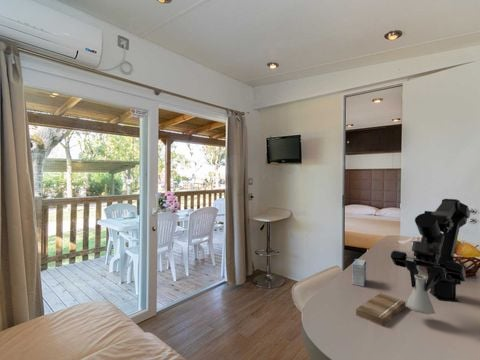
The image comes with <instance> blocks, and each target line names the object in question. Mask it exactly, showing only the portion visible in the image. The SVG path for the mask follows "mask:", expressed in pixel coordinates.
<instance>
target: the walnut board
mask: <svg viewBox="0 0 480 360" xmlns="http://www.w3.org/2000/svg"><path fill="white" fill-rule="evenodd" d="M405 308H406V300H403V299H400V298H397V297H395V296H392V295H388V294H385V293H382V292H378V294H376V295H375V296H374V297H372V298H370V299H369V300H367V301H366V302H364V303H362V304H361V305H359V306H358V307H357V308H355V315H356V316H358V317H360V318H362V319H364V320H366V321H367V320H368V321H370V322H372V323H375V324H377V325H379V326H381V327H384V325H386V324H387V323H388V322H389V321H390V320H392V319H393V318H394V317H395V316H396V315H398V314H399V313H400V312H401V311H403V310H404V309H405Z"/></svg>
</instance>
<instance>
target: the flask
mask: <svg viewBox="0 0 480 360" xmlns="http://www.w3.org/2000/svg"><path fill="white" fill-rule="evenodd" d="M414 276H415V278H416V280H415V286H414V288H412V290H411V293H410V296H409V298H408V300H406V307H407V308H408V309H410V310H411V311H413V312H415V313H418V314H419V313H420V314H424V315H432V314H435V315H436V311H435V309H434V306H433V303H432V300H431V299H430V296H429V292H428V291H425V285H426V282H427V279H428V276H425V275H422V274H418V275H414Z"/></svg>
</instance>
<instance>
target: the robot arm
mask: <svg viewBox="0 0 480 360" xmlns="http://www.w3.org/2000/svg"><path fill="white" fill-rule="evenodd" d="M470 211H471V210H470V208H469V206H468V205H466V204H464V203H463V202H461V201H460V200H459V199H457V198H443V199H442V200H441V203H440V204H439V206H438V207H437V208H436V209H435V211H430V210H429V211H428V210H424V213H420V214H418V215H417V216H415V218H414V222H415V226H416V227H417V230H418V232H419V233H418V234H420V236H421V240H420V241H419V240H412V247H411V252H413V256H414V257H413V256H411V255H410V256H409V255H407V252H404V251H399V250H393V251H391V253H390V258H391V260H392V262H393V264H394V265H395V266H398V267H401V268H406V269H407V271H409V275H410V282H411V287H412V289H414V286H415V280H416V278H415V276H414V275H419V270H418V267H422V268H423V267H424V268H426V270H427V280H426V285H425V291H427V292H428V291H429V292H428V293H430V294H431V295H432V296H433V297H435V298H436V299H437V300H439V301H450V302H452V301H453V302H459V300H460V299H458V298H457V292H456V291H457V290H456V289H457V285H459V286H460V285H461V284H462V282H465V281H466V276H467V275H466V271H465V266H464V265H463V264H462V263H460V262H459V263H458V262H456V260H455V259H454V255H455V251H456V248H457V247H456V246H457V242H458V236H459V232H460V228H462V227H463V226H464V225H466V224H467V221H468V219H469V218H470V216H471V215H470V214H471V212H470Z"/></svg>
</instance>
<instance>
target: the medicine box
mask: <svg viewBox="0 0 480 360" xmlns="http://www.w3.org/2000/svg"><path fill="white" fill-rule="evenodd" d="M351 267H352V270H351V271H352V272H351V273H352V274H351V276H352V278H351V279H352V281H351V282H352V285H355V286H358V287H359V286H360V287H363V288H364V287H365V284H366V282H367V260H365V259H359V258H355V259H354V261H353V262H352V266H351Z"/></svg>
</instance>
